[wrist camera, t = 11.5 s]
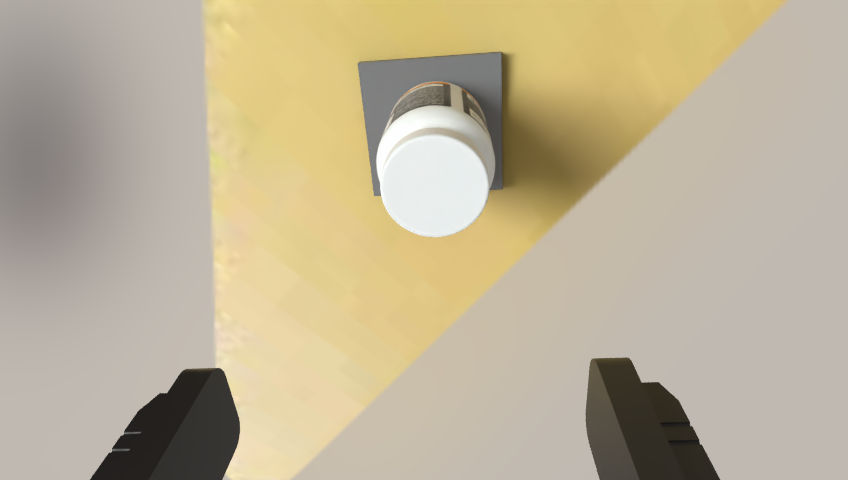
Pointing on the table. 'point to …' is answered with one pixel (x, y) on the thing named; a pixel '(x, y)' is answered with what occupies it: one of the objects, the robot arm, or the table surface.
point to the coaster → (400, 75)
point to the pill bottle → (435, 160)
